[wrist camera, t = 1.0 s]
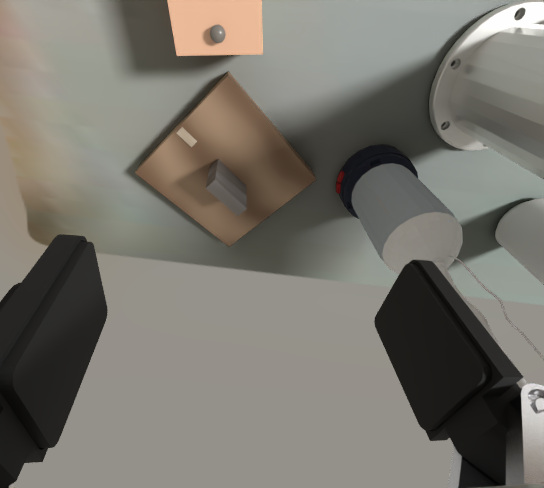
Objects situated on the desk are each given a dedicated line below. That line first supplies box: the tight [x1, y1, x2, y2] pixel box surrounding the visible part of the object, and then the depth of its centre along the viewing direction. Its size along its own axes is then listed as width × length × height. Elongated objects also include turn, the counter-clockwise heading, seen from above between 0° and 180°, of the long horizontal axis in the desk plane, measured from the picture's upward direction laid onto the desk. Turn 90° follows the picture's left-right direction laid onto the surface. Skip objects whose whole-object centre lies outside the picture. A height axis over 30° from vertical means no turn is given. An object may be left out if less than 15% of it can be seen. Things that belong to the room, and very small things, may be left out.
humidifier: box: [336, 145, 544, 388], centre depth 26 cm, size 8×8×25 cm
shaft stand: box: [135, 71, 316, 246], centre depth 31 cm, size 13×13×7 cm
